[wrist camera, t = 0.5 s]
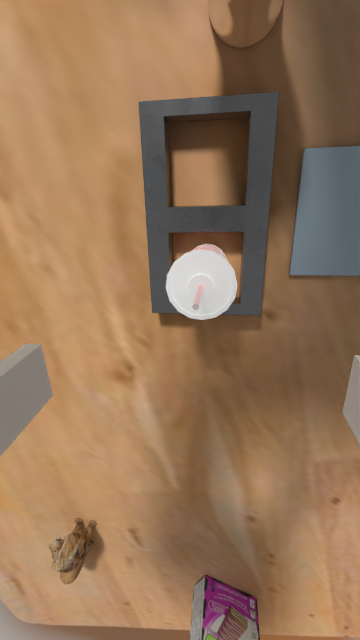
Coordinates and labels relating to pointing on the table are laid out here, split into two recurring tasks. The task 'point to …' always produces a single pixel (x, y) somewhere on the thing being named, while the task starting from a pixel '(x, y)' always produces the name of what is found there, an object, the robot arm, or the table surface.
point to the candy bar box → (222, 612)
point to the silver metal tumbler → (243, 20)
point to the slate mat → (328, 213)
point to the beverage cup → (202, 283)
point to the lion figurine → (71, 552)
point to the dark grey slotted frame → (216, 217)
